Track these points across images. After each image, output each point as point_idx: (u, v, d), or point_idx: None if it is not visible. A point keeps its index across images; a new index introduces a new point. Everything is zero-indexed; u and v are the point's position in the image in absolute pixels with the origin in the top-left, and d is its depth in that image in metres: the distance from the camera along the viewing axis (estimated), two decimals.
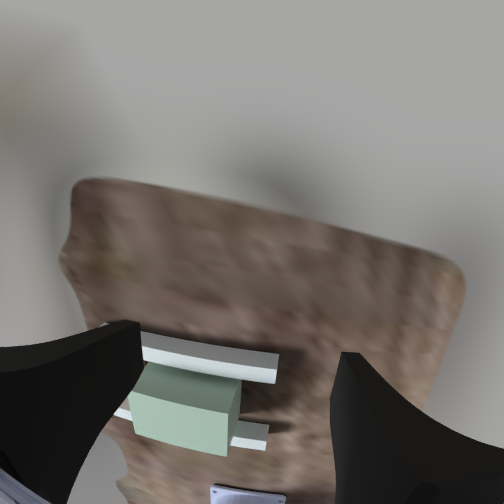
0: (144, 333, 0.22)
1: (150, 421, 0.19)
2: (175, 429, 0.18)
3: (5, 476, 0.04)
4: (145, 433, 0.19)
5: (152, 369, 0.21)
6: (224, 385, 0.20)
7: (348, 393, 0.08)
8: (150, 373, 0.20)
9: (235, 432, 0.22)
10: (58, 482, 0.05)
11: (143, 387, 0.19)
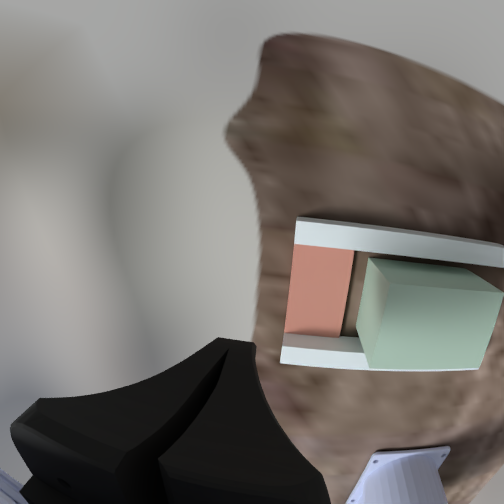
0: (364, 224, 0.17)
1: (407, 335, 0.13)
2: (438, 338, 0.13)
3: None
4: (387, 363, 0.14)
5: (387, 267, 0.16)
6: (469, 276, 0.15)
7: None
8: (391, 270, 0.15)
9: None
10: None
11: (405, 280, 0.13)
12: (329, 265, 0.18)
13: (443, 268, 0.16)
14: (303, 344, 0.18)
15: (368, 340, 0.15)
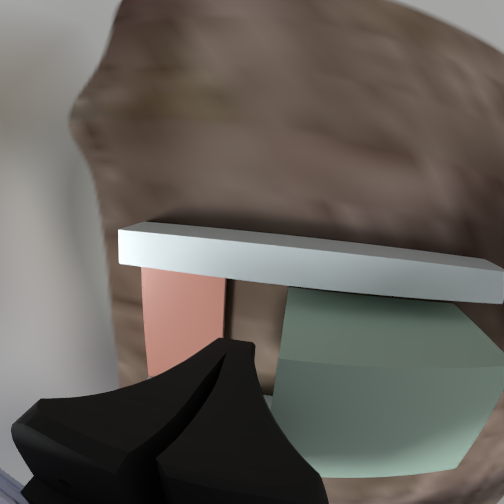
0: (239, 231, 0.11)
1: (322, 438, 0.07)
2: (384, 441, 0.07)
3: None
4: None
5: (307, 311, 0.10)
6: (459, 325, 0.09)
7: None
8: (310, 318, 0.09)
9: None
10: None
11: (320, 348, 0.07)
12: (191, 293, 0.12)
13: (416, 308, 0.10)
14: None
15: None
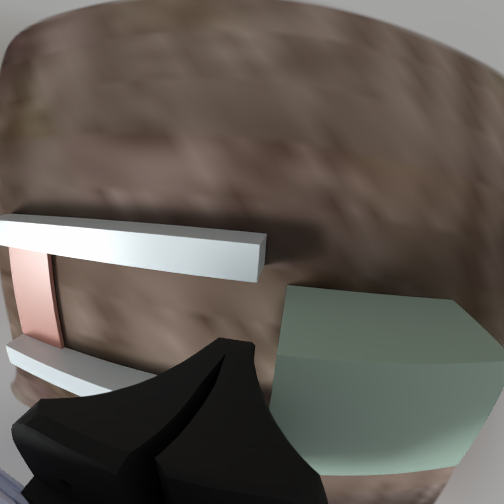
0: (50, 216, 0.12)
1: (321, 435, 0.07)
2: (384, 438, 0.07)
3: None
4: None
5: (306, 308, 0.10)
6: (458, 321, 0.09)
7: None
8: (308, 315, 0.09)
9: None
10: None
11: (319, 344, 0.07)
12: (32, 265, 0.13)
13: (415, 304, 0.10)
14: (22, 347, 0.13)
15: None
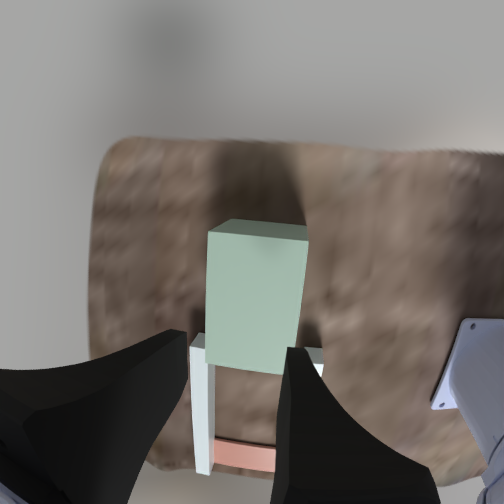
0: None
1: (255, 345, 0.15)
2: (259, 312, 0.15)
3: None
4: None
5: None
6: None
7: (285, 388, 0.08)
8: None
9: None
10: None
11: None
12: (229, 451, 0.23)
13: None
14: None
15: None
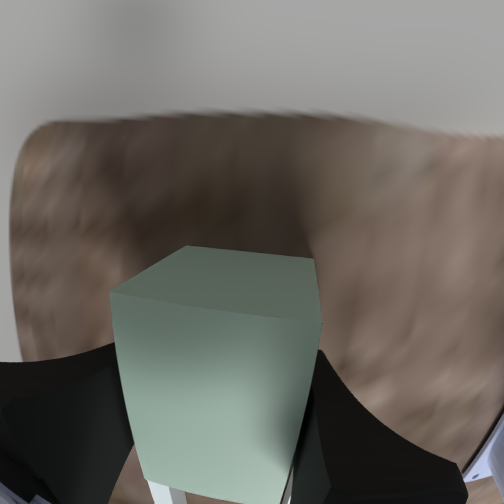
0: None
1: (217, 475, 0.07)
2: (221, 437, 0.07)
3: None
4: (270, 493, 0.07)
5: None
6: None
7: None
8: None
9: (291, 484, 0.11)
10: (95, 501, 0.05)
11: None
12: None
13: None
14: None
15: None
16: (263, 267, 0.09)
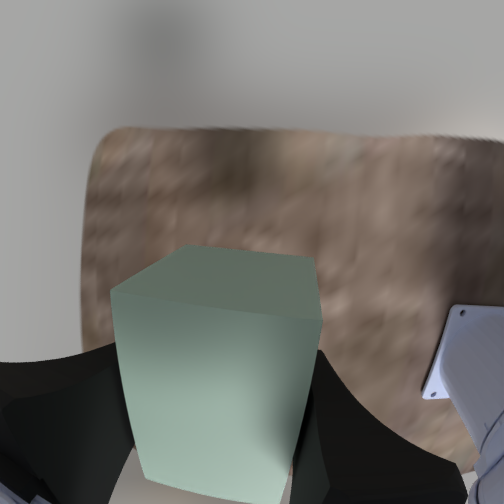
0: None
1: (218, 474, 0.07)
2: (221, 435, 0.07)
3: None
4: (270, 492, 0.07)
5: None
6: None
7: None
8: None
9: None
10: (95, 501, 0.05)
11: None
12: None
13: None
14: None
15: None
16: (263, 266, 0.09)
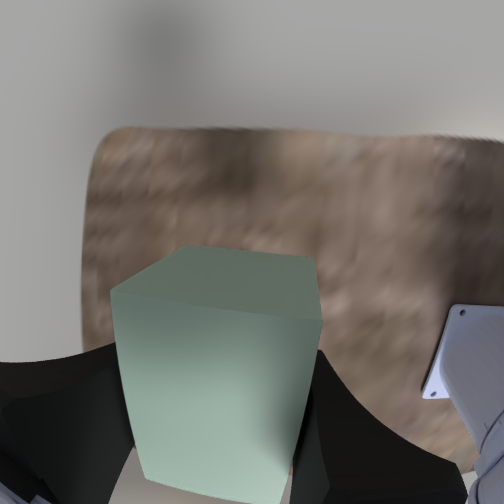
0: None
1: (218, 474, 0.07)
2: (221, 435, 0.07)
3: None
4: (270, 492, 0.07)
5: None
6: None
7: None
8: None
9: None
10: (95, 501, 0.05)
11: None
12: None
13: None
14: None
15: None
16: (263, 266, 0.09)
